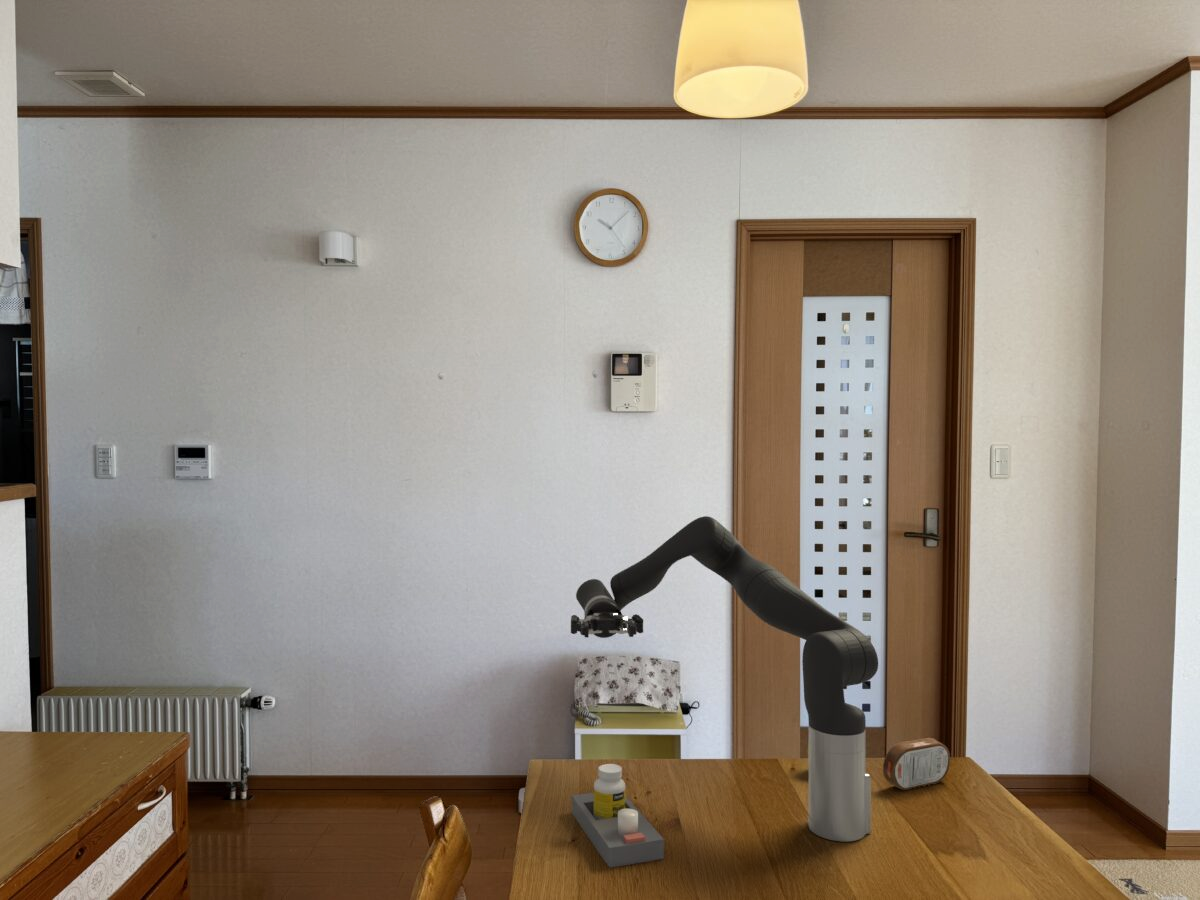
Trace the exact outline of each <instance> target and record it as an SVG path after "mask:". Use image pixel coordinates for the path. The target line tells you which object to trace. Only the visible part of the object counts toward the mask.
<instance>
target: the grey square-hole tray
mask: <svg viewBox="0 0 1200 900" xmlns="http://www.w3.org/2000/svg"><path fill="white" fill-rule="evenodd" d="M593 809H594V792H587V793H580V794H573V795H571V814H572V815H573V817H574V819H575V820H576V821H577V823H578V824H579V826H580V827H581V829H582V828H583V829H582V830H583V832H584V833H585V834H586V836H587V837H588V839H589V841H590V842H591V843H592V844H593V846H594V848H595V849H596V851H597V852H598V853H599V856H600V857H601V858H602V859H603V861H604V862H605V864H606V863H607V864H606V865H607V867H608V866H609V867H608V868H609V869H611V868H616V867H622V866H623V867H624V866H628V865H633V864H640V863H641V864H642V863H647V862H653V861H658V860H659V861H660V860H665V839H664V838H663V837H662V835H661V834H660V833H659V832H658V830H656V828H655V827H654V826H653V825H652V823H650V822H649V820H648V819H647V818H646V816H644V814H642V812H641V811H640V810H639V809H638V808H637V807H636V805H635V804H634V803H633V802H632V801H631V800H630V799H629V797H627V796H626V797H625V809H621V810H619V811H618V817H615V818H608V819H601V820H595V818H594V817H593Z"/></svg>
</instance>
